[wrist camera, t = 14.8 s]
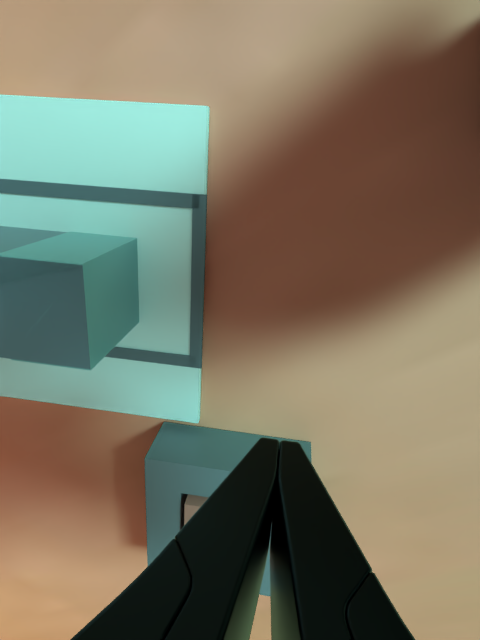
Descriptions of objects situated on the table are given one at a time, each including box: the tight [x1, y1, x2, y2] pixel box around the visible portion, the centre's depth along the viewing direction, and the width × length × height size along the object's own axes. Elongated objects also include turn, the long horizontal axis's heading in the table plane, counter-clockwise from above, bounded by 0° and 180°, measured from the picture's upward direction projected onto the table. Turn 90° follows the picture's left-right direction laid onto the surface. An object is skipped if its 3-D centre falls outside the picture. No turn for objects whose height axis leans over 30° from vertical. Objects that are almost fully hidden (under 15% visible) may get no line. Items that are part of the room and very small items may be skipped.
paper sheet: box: [0, 95, 209, 423], centre depth 20 cm, size 20×15×1 cm
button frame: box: [145, 422, 311, 596], centre depth 22 cm, size 8×8×3 cm
